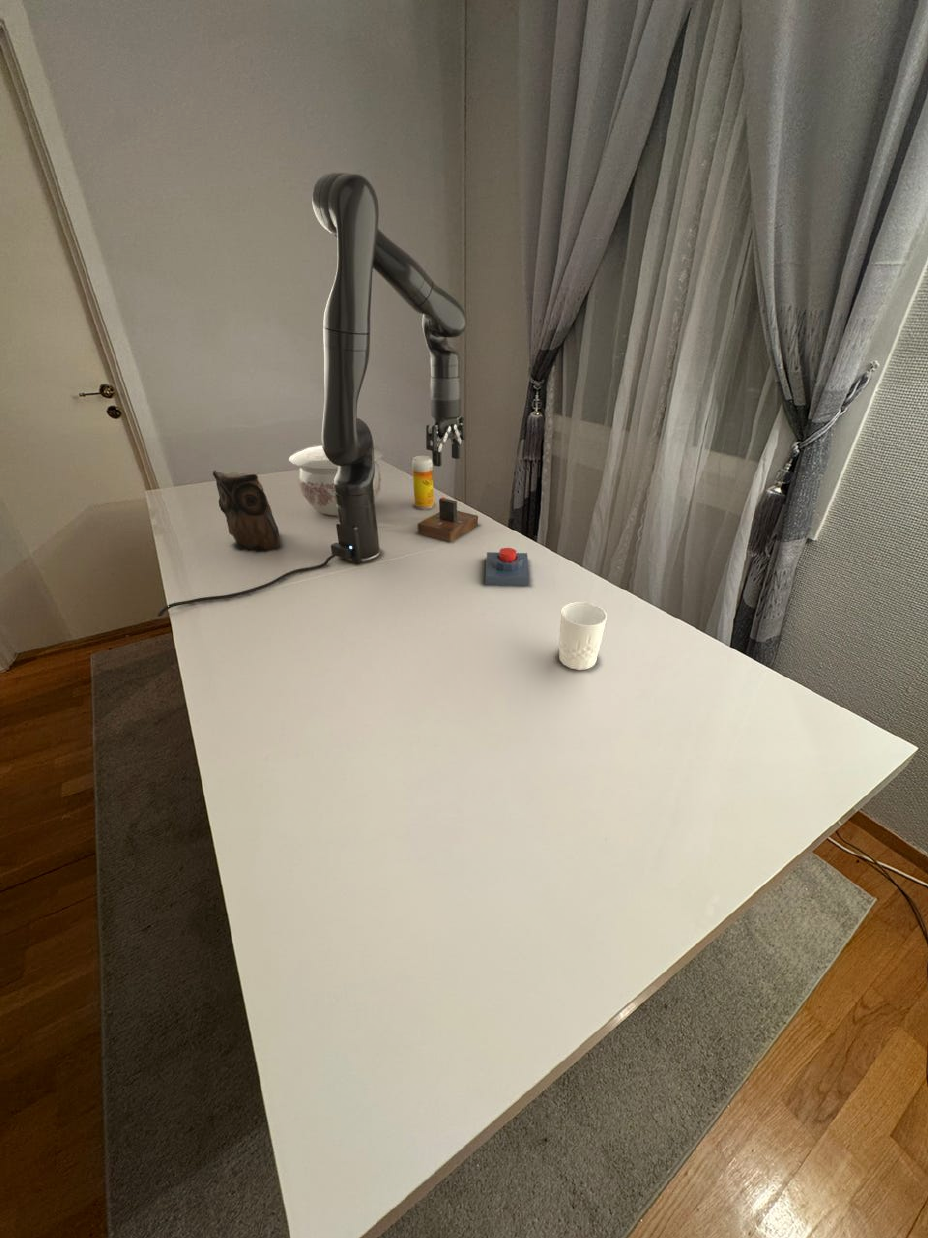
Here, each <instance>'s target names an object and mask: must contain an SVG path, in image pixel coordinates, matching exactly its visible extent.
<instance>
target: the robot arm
mask: <svg viewBox="0 0 928 1238" xmlns="http://www.w3.org/2000/svg"><path fill="white" fill-rule="evenodd" d="M311 202H312V208H313V212H314V214H315V216H316V219H317V221H318V222H319V223H320V225H321V226H322V227H323V228H324V229H325V230H326V231H327V232H328V233H330V234H331V235H333V236H334V237H335V238H336V239H337V264H336V265H337V266H336V273H335V277H334V281H333V284H332V286H331V289H330V293H329V296H328V299H327V301H326V304H325V308H324V313H323V322H322V323H323V327H322V328H323V332H322V333H323V334H322V335H323V354H324V355H323V360H324V361H323V363H324V364H323V367H324V369H323V371H324V373H323V374H324V375H323V377H324V379H323V380H324V381H323V383H324V399H323V400H324V401H323V411H322V412H323V414H322V423H321V439H320V441H321V444H322V447H323V451H324V453H325V455H326V457H327V458H328V459H329V460H330V461H331V462H332V463H333V464H335V465H337V466H339V467H338V471H337V474H336V476H335V478H334V491H335V498H336V505H337V512H338V516H337V518H338V522H336V524H335V526H336V534H337V540H338V541H337V542H334V543H332V544H330V550H331V555H330V556H328V557H327V558H326V560H325V561H324V562H322V563H321V564H318V565H315V566H310V567H301V568H296V569H293V570H290V571H288V572H286V573H284V574H282V575H280V576H279V577H276V578H275V579H273V580H271V581H270V582H269V581H268V582H267V583H264V584H262V585H259V586H256V587H253V588H249V589H246V590H242V591H238V592H234V593H229V594H223V595H213V596H205V597H204V596H203V597H198V598H193V599H187V600H183V601H177V602H173V603H170V604H167V605H166V606H164V607H163V608H162V609H161V610H160V611H159V612H158V614H157V615H156V617H157V618H160V617H162V616H163V615H164V614H165V613H166V611H168V610H170V609H171V608H175V607H179V606H183V605H190V604H195V603H199V602H204V601H214V600H223V599H224V600H225V599H230V598H235V597H238V596H243V595H248V594H250V593H254V592H257V591H260V590H262V589H265V588H268V587H270V586H272V585H274V584H276V583H278V582H280V581H282V580H284V579H285V578H287V577H289V576H291V575H293V574H297V573H301V572H306V571H307V572H308V571H313V570H317V569H321V568H323V567H326V566H327V564H328V563H329V562H330V561H331V560H332V559H334V558H335V557H337V558H340V559H341V560H345V561H348V562H350V563H354V564H356V565H360V564H361V563H366V562H367V563H368V562H371V561H374V560H376V559H377V558H379V557H380V556H381V549H380V538H379V531H378V519H377V510H376V501H375V500H376V498H375V499H374V489H373V480H374V476H375V462H374V446H375V445H374V439H373V435H372V432H371V430H370V427H369V426H368V424H367V423H366V422H365V420H362V419H361V418H359V417H358V416H357V415H358V414H357V412H358V402H359V395H360V392H361V390H362V387H363V383H364V380H365V376H366V373H367V369H368V365H369V361H370V354H371V353H370V350H371V310H372V291H373V290H372V288H373V270H374V271H376V273H377V274H379V275H380V277H382V278H383V280H384V281H385V282H386V283H387V284H388V285H389V286H390V287H391V288H392V289H393V290H394V291H395V293H396V294H398V296H400V298H401V299H402V300H403V301H404V302H405V303H406V304H407V305H408V306H409V307H410V308H411V309H412V310H413V311H414V312H416V313H417V314H419V315H420V314H421V315H422V318H421V325H422V332H423V336H424V340H425V344H426V347H427V351H428V355H429V359H430V384H429V390H430V391H429V395H430V415H431V417H432V418H433V419H434V423H433V424H432V425H430V424H427V425H426V427H425V446H426V447H425V449H426V450H428V451H431V453H432V454H431V455H432V457H431V458H432V463H433V466H434V467H439V468H440V467H442V465H443V464H442V450H443V446H444V445H446V443H447V441H448V440H449V439H450V441H451V458H452V459H453V460H459V459H460V458H461V444H462V442H463V441H465V440H466V418H465V416H461V415H462V392H461V391H462V388H461V386H462V385H461V376H460V369H461V368H460V367H461V365H460V353H459V351H457V350H456V349H454V348H452V347H451V346H450V345H449V341H448V338H450V339H454V338H458V337H461V335H463V333H464V332H465V330H466V328H467V321H468V320H467V315H466V311H465V310H464V308H463V305H461V303H460V302H459V301H458V300H457V299H456V298H455V297H453V296H452V295H451V294H450V293H448V292H447V291H446V290H444V289H443V288H442V287H440V286H439V285H437V284H436V283H435V282H434V280H433V279H432V278H431V277H430V276H429V275H428V273H427V271H426V270H424V268H423V267H422V265H420V264H419V262H418V261H416V260H415V259H414V258H413V257H412V256H411V255H410V254H409V253H408V252H406V251H405V250H404V249H402V248H401V247H400V246H399V245H397V244H396V243H395V242H394V241H392V240H391V239H390V237H388V236H386V234H384V232H383V231H381V230H380V228H379V218H380V217H379V215H380V214H379V213H380V212H379V201H378V197H377V194H376V191H375V188H374V186H373V184H372V183H371V182H370V180H368V178H366V177H365V176H363V175H362V174H359V173H350V172H348V173H347V172H346V173H345V172H330V173H326V174H323V175H322V176H320V177H319V178H318V179H317V180H316V182H315V183H314V186H313V188H312V194H311ZM168 606H169V607H168Z"/></svg>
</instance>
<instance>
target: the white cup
mask: <svg viewBox="0 0 928 1238" xmlns="http://www.w3.org/2000/svg"><path fill="white" fill-rule="evenodd" d="M607 619H608V614H607V612H606V611H605V610H604V609H603V608H602V607H600V606H599V605H597V604H594V603H591V602H587V601H586V602H585V601H575V602H570V603H567V604H565V605H563V607H562V608H561V610H560V619H559V643H558V646H559V650H558V651H559V652H558V657H559V661H560V662H561V663H562V665H564V666H565V667H567V668H569V669H573V670H577V671H582V670H583V671H584V670H588V669H591V668H592V667H594V666H595V664H596V663H597V659H598V655H599V652H600V650H601V649H600V648H601V644H602V641H603V636H604V632H605V627H606V624H607Z"/></svg>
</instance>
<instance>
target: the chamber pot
mask: <svg viewBox="0 0 928 1238" xmlns="http://www.w3.org/2000/svg"><path fill="white" fill-rule="evenodd" d="M373 446H374V462H375V476H374V480H373V489H374V499H375V500H376V498H377V497H378V494H379V492H380V489H381V483H382V482H381V481H382V475H381V468H380V465H379V464H378V462H377V461H379V460H380V459H381V458H383V456H384V455H385V454H384V450H383V449H381V448H380V447H378V446H377V445H373ZM288 461H289V462H290V463H291V464H292V465H294V466H297V467H298V470H297V474H296V478H297V482H298V487H299V489H300V491H301V494H302V496H303V497H304V499H305V500H306V501H307V502H308V503H309V504H310V505H311V506H312V508H313V509H314V510H315V511H317V512H318V513H320V514H322V515H328V516H334V517H338V512H337V505H336V498H335V491H334V478H335V476H336V474H337V471H338V467H339V466H337V465H335V464H333V463H332V462H331V461H330V460H329V459H328V458H327V457H326V455H325V453H324V451H323V447H322V443H318V444H312V445H309V446H305V447H303V448H301V449H298V450H296V451H294V452H292V453H291V454H290V455H289V458H288Z"/></svg>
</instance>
